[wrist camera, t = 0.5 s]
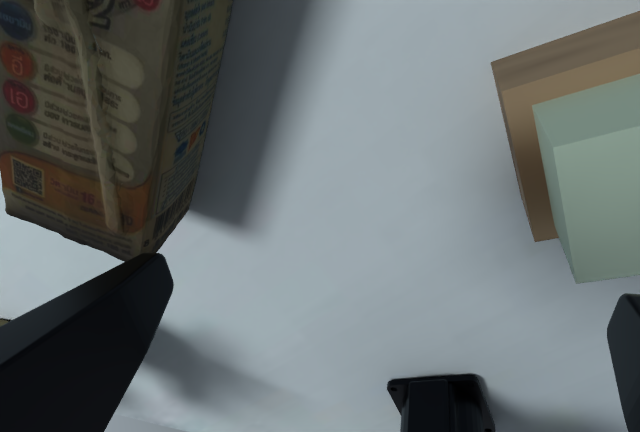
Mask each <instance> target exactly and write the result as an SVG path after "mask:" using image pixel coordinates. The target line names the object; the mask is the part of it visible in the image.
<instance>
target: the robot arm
mask: <svg viewBox="0 0 640 432" xmlns="http://www.w3.org/2000/svg"><path fill="white" fill-rule="evenodd" d="M173 285H174V284H173V279H172V276H171V273H170V270H169V268H168V265H167V262H166V259H165V257H164V256H163V255H162V254H160V253H149V252H145V253H142V254H140V255H138V256H136V257H134V258H132V259H130V260H128V261H126V262H124V263H122V264H120V265H118V266H116V267H115V268H113V269H111V270H109V271H107V272H105V273H103V274H101V275H99V276H97V277H95V278H93V279H91V280H89V281H87V282H85V283H83V284H82V285H80V286H78V287H76V288H74V289H72V290H70V291H68V292H66V293H64V294H62V295H60V296H58V297H56V298H54V299H52V300H51V301H49V302H47V303H45V304H43V305H41V306H39V307H37V308H35V309H33V310H31V311H29V312H27V313H25V314H23V315H21V316H20V317H18V318H16V319H14V320H12V321H10V322H8V323H6V324H4V325H2V326H0V432H104V431H105V429H106V427H107V425H108V423H109V421H110V420H111V418H112V416H113V414H114V412H115V410H116V409H117V407H118V405H119V403H120V401H121V399H122V398H123V396H124V394H125V392H126V390H127V388H128V386H129V385H130V383H131V381H132V379H133V377H134V375H135V374H136V372H137V370H138V368H139V366H140V364H141V363H142V361H143V359H144V357H145V355H146V353H147V351H148V349H149V346H150V344H151V342H152V340H153V337H154V335H155V332H156V330H157V328H158V325H159V323H160V320H161V318H162V316H163V313H164V311H165V309H166V306H167V304H168V301H169V299H170V297H171V294H172V291H173ZM607 339H608V344H609V349H610V354H611V358H612V363H613V368H614V372H615V377H616V382H617V387H618V391H619V396H620V401H621V406H622V410H623V414H624V418H625V422H626V425H627V428H628V432H640V294H623V295H622V296H621V297H620V298H619V300H618V302H617V305H616V307H615V310H614V312H613V314H612V317H611V319H610V322H609V324H608V328H607ZM387 390H388V392H389V394H390V395H391V397H392V399H393V401H394V403H395V405H396V407H397V409H398V411H399V412H400V414H401V430H400V432H495V424H494V422H493V419H492V416H491V414H490V411H489V408H488V405H487V403H486V400H485V397H484V395H483V392H482V389H481V387H480V384H479V381H478V379H477V377H475V376H472V375H463V376H449V377H434V378H420V379H406V380H392V381H389V382H388V384H387Z"/></svg>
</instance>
